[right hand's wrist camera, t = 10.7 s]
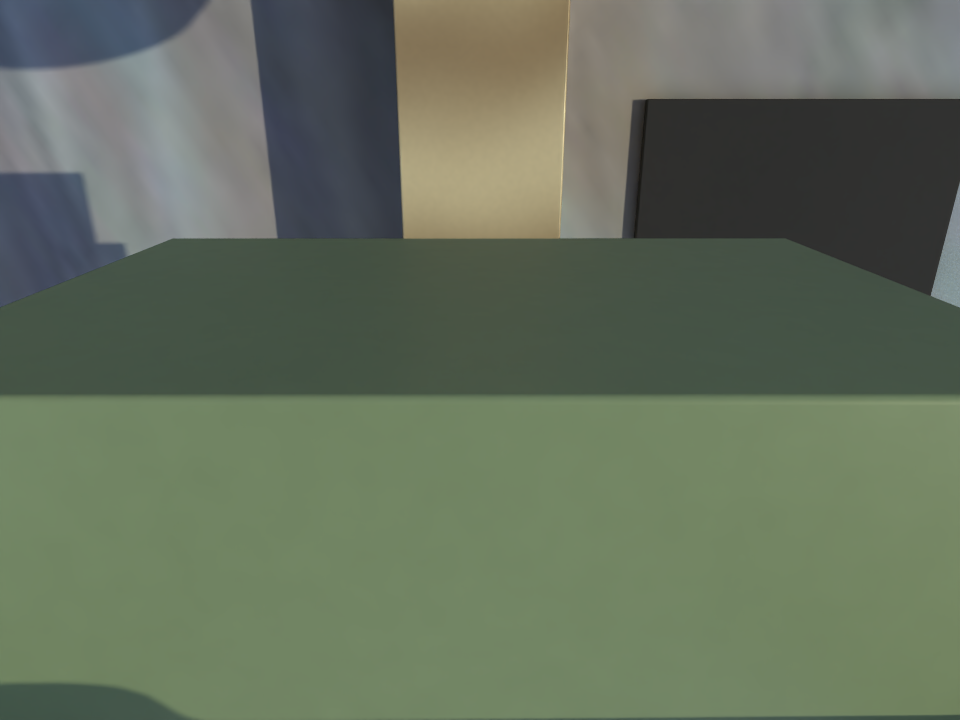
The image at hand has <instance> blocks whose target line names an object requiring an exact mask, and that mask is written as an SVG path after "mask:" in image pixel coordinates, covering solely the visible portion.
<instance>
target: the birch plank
mask: <svg viewBox="0 0 960 720" xmlns="http://www.w3.org/2000/svg"><path fill="white" fill-rule="evenodd" d="M393 16H394V40H395V63H396V87H397V110H398V134H399V157H400V181H401V204H402V228H403V239H560V223H561V201H562V178H563V155H564V133H565V110H566V87H567V65H568V42H569V20H570V0H393Z"/></svg>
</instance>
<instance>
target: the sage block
mask: <svg viewBox="0 0 960 720" xmlns="http://www.w3.org/2000/svg"><path fill="white" fill-rule="evenodd" d="M0 720H960V308H959V307H957V306H954V305H952V304H949V303H947V302H944V301H942V300H939V299H937V298H934V297H932V296H929V295H926V294H924V293H921V292H919V291H916V290H914V289H911V288H909V287H906V286H904V285H901V284H899V283H896V282H894V281H891V280H889V279H886V278H884V277H881V276H879V275H876V274H874V273H871V272H869V271H866V270H864V269H861V268H858V267H856V266H853V265H851V264H848V263H846V262H843V261H841V260H838V259H836V258H833V257H831V256H828V255H826V254H823V253H821V252H818V251H816V250H813V249H811V248H808V247H806V246H803V245H801V244H798V243H796V242H793V241H791V240H788V239H785V238H579V239H171V240H168V241H166V242H163V243H161V244H158V245H156V246H153V247H151V248H148V249H146V250H143V251H141V252H138V253H135V254H133V255H130V256H128V257H125V258H123V259H120V260H118V261H115V262H113V263H110V264H108V265H105V266H103V267H100V268H98V269H95V270H93V271H90V272H88V273H85V274H83V275H80V276H78V277H75V278H73V279H70V280H68V281H65V282H63V283H60V284H58V285H55V286H53V287H50V288H48V289H45V290H43V291H40V292H38V293H35V294H33V295H30V296H28V297H25V298H23V299H20V300H18V301H15V302H13V303H10V304H8V305H5V306H3V307H0Z"/></svg>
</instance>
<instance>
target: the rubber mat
mask: <svg viewBox="0 0 960 720" xmlns="http://www.w3.org/2000/svg"><path fill="white" fill-rule="evenodd" d="M959 183H960V99H647V100H646V104H645V115H644V127H643V139H642V151H641V163H640V174H639V186H638V198H637V210H636V221H635V233H634V238H785V239H788V240H791V241H793V242H796V243H798V244H801V245H803V246H806V247H808V248H811V249H813V250H816V251H818V252H821V253H823V254H826V255H828V256H831V257H833V258H836V259H838V260H841V261H843V262H846V263H848V264H851V265H853V266H856V267H858V268H861V269H864V270H866V271H869V272H871V273H874V274H876V275H879V276H881V277H884V278H886V279H889V280H891V281H894V282H896V283H899V284H901V285H904V286H906V287H909V288H911V289H914V290H916V291H919V292H921V293H924V294H926V295H929V296H931V292H932V288H933V284H934V280H935V276H936V272H937V268H938V264H939V260H940V257H941V253H942V249H943V245H944V241H945V237H946V233H947V229H948V225H949V222H950V218H951V214H952V210H953V206H954V202H955V198H956V194H957V190H958V186H959Z"/></svg>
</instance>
